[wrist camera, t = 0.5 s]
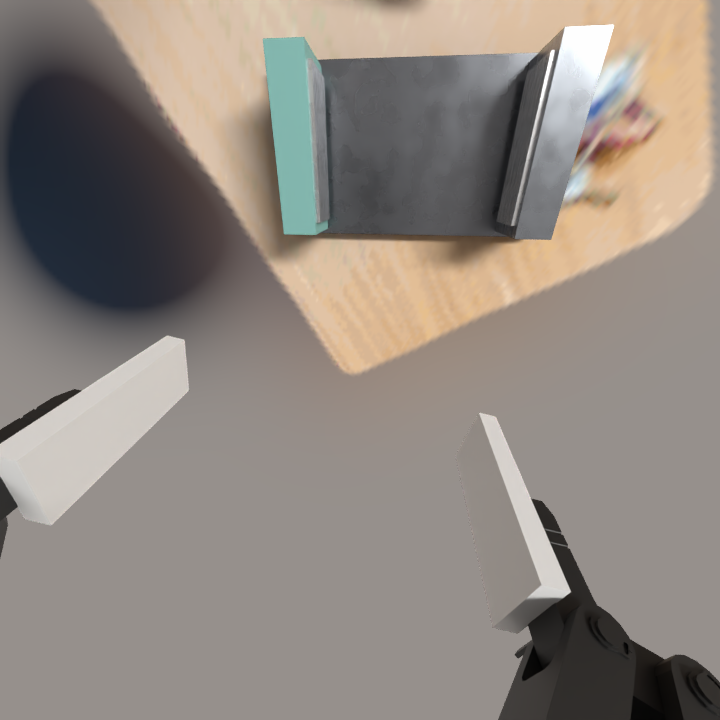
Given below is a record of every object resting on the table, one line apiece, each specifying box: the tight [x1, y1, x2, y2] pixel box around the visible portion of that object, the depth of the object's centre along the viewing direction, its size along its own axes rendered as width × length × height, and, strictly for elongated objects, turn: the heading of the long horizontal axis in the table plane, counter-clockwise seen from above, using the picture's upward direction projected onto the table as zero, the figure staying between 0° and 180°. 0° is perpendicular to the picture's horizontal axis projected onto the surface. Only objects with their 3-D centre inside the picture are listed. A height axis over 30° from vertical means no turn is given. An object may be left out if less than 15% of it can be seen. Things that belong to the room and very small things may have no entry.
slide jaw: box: [263, 37, 330, 235], centre depth 27 cm, size 13×3×6 cm, turn 0°
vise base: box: [318, 25, 614, 240], centre depth 27 cm, size 14×26×8 cm, turn 90°
